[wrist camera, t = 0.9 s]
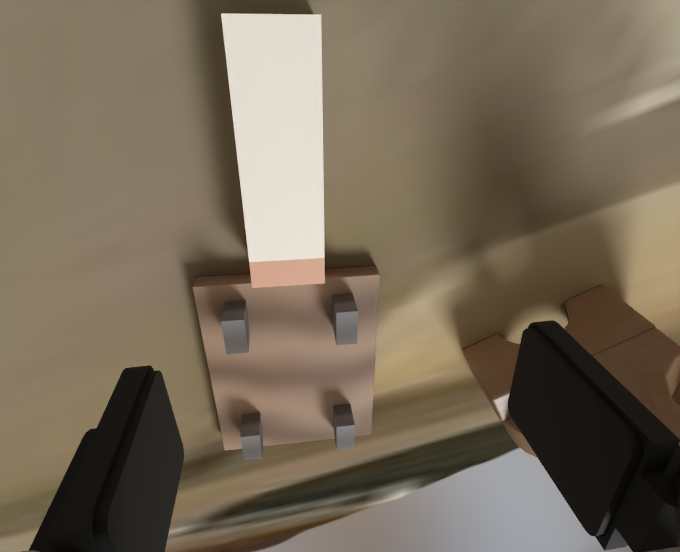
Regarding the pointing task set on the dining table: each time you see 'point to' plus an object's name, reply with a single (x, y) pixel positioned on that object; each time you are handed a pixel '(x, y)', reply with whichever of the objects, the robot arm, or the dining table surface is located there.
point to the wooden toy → (606, 347)
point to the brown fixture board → (290, 357)
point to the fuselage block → (279, 142)
